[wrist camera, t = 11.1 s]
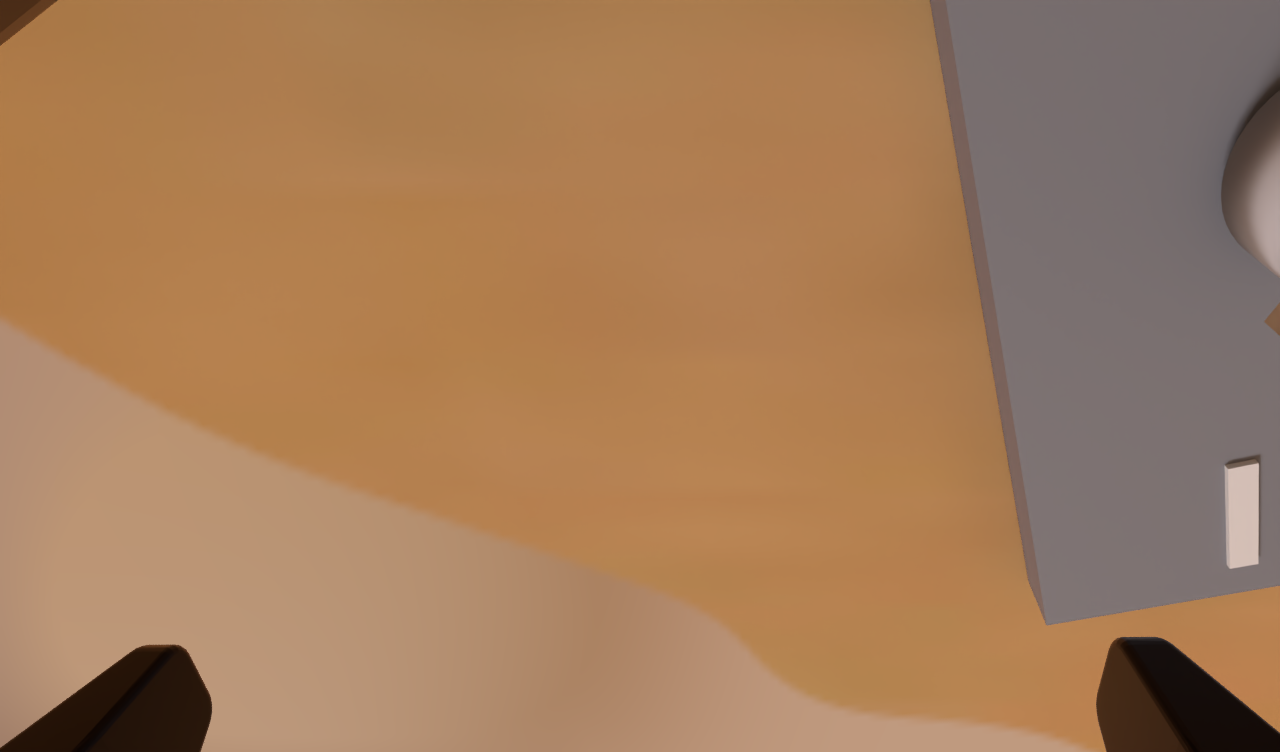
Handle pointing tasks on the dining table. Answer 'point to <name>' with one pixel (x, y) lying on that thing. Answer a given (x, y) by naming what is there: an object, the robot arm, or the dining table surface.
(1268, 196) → the tuning peg
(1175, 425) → the tuner dial board
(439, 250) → the dining table surface
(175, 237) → the dining table surface
